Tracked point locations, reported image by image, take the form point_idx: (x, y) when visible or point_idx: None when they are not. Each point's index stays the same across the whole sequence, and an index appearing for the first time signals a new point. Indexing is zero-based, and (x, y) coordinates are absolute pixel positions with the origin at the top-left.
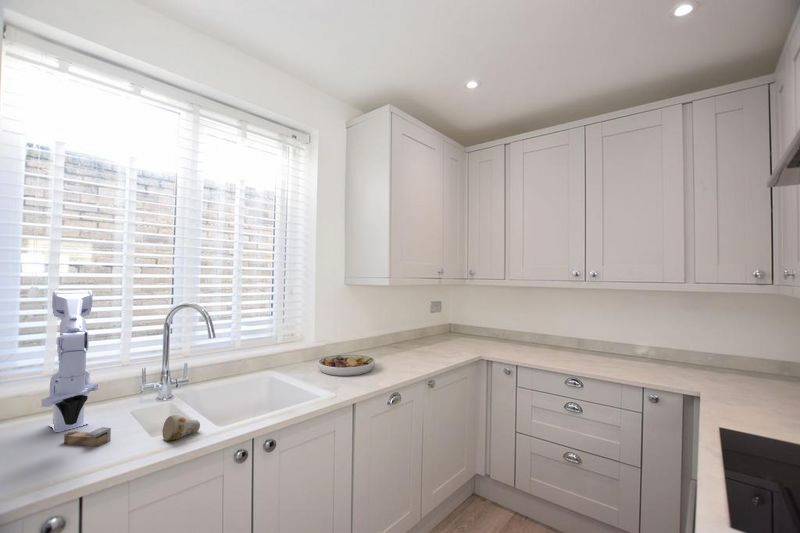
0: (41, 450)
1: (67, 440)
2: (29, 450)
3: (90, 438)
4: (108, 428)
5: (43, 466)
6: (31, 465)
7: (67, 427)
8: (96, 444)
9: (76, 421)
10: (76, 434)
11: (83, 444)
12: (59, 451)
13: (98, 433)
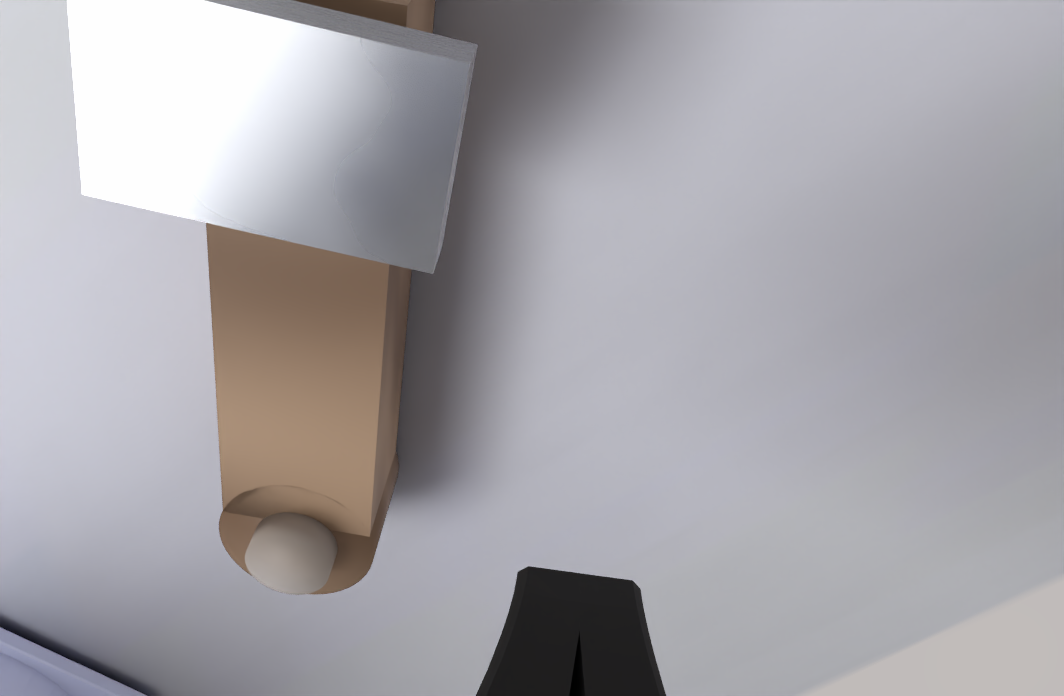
0: None
1: (386, 486)
2: None
3: None
4: (102, 3)
5: (1054, 300)
6: (971, 448)
7: (46, 688)
8: (431, 2)
9: (532, 591)
10: (315, 461)
11: None
12: (590, 408)
13: (381, 39)
